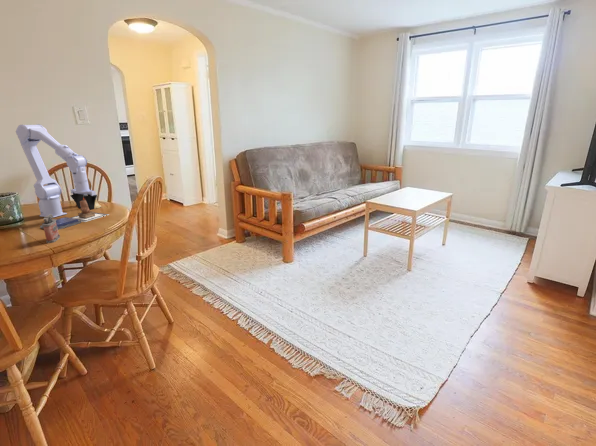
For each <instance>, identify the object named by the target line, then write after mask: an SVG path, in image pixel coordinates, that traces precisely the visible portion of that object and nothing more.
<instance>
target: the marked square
mask: <svg viewBox="0 0 596 446" xmlns="http://www.w3.org/2000/svg"><path fill="white" fill-rule="evenodd" d="M106 215H107V216H109V215H110V214H108V213H100V212H95V216H94V217H90V218H87V219H85V218H79V216H78V215H76V216H72V217H70V218H75V219H78V220H79V221H81V223H86V222H90V221H93V220H96V219H100V218H103V216H104V217H106Z"/></svg>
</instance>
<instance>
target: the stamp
mask: <svg viewBox="0 0 596 446" xmlns="http://www.w3.org/2000/svg"><path fill="white" fill-rule="evenodd" d="M80 206H81V208H80V209H81V210H80V211H81V212H77V213H78V214H77V216H79V218H85V219H87V218H90V217H94V216H95V213H96V212H95V211H93V210H89V207H88V204H87V202H86V200H83V201H80Z"/></svg>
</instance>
